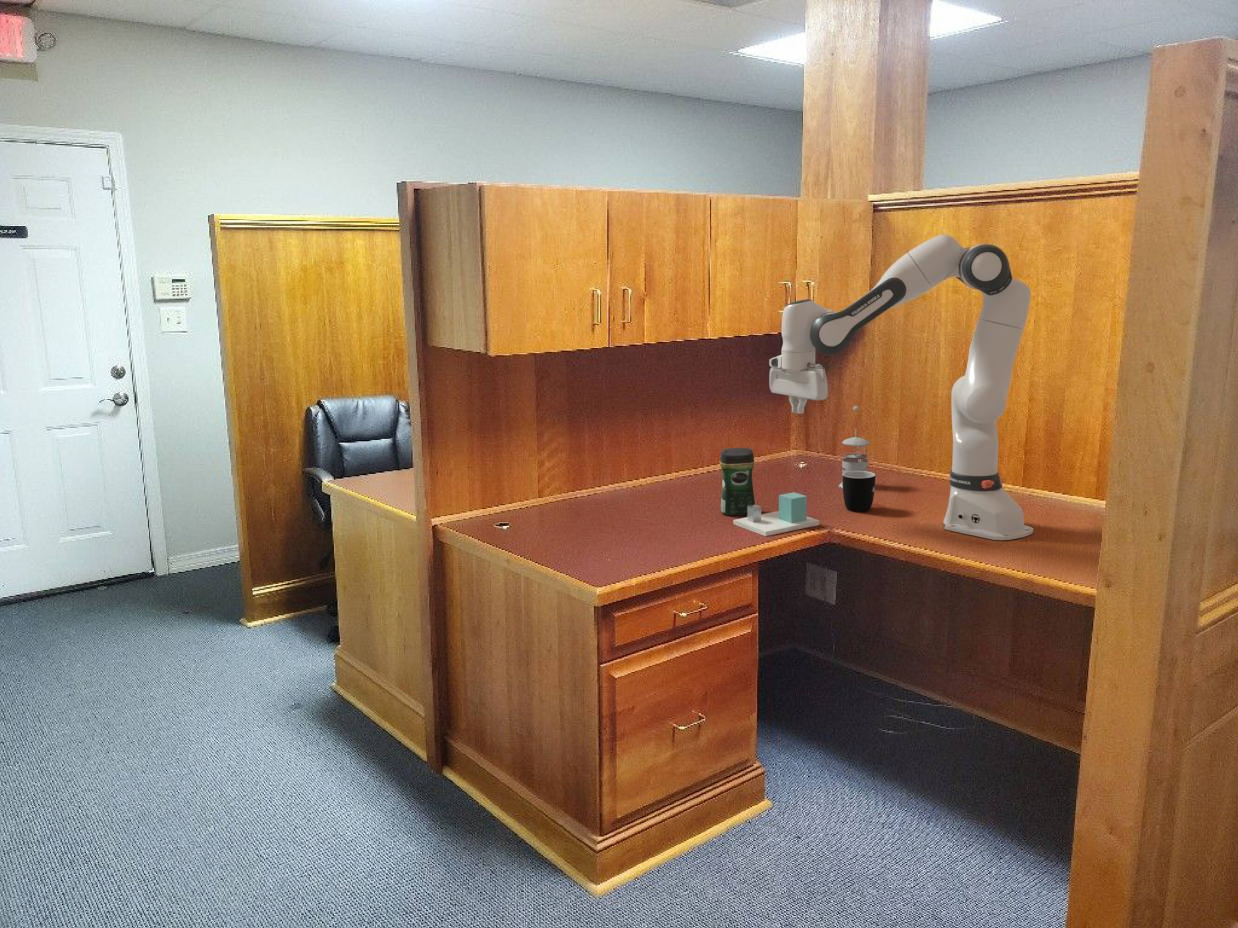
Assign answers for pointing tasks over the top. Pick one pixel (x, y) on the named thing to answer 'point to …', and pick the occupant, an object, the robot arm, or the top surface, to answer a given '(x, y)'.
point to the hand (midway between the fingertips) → (797, 413)
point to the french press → (854, 454)
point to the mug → (858, 490)
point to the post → (754, 513)
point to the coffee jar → (736, 480)
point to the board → (773, 524)
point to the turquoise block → (792, 507)
